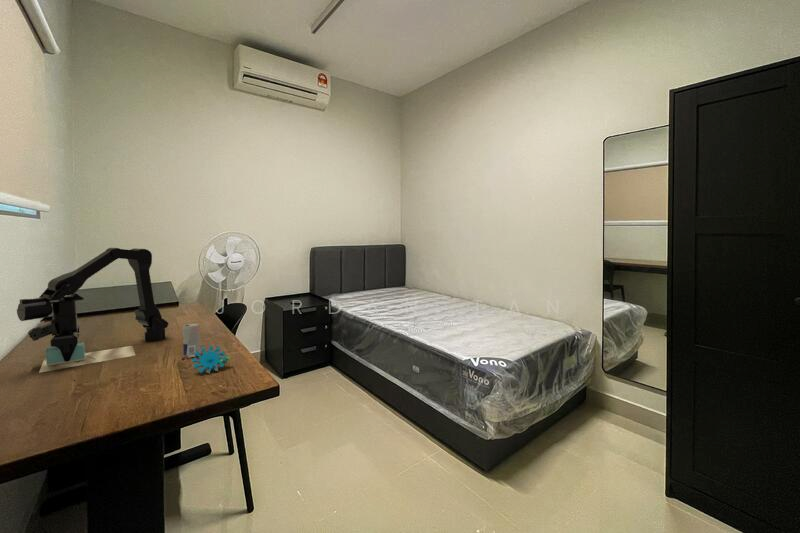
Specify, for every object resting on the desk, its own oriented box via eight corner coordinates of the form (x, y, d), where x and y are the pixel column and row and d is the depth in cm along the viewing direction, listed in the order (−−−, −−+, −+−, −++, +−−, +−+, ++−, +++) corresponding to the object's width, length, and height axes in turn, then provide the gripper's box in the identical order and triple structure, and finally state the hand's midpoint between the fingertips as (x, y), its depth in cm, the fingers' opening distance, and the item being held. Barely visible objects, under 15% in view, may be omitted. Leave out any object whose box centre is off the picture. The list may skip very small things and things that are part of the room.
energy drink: (188, 353, 127) (187, 323, 126) (203, 353, 127) (202, 323, 126) (180, 358, 121) (179, 326, 120) (195, 358, 122) (194, 326, 121)
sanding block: (84, 356, 118) (84, 342, 118) (84, 359, 115) (83, 345, 114) (48, 361, 112) (47, 347, 112) (46, 366, 109) (45, 351, 108)
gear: (190, 373, 105) (194, 344, 111) (189, 380, 109) (193, 353, 115) (229, 371, 110) (231, 344, 116) (227, 379, 114) (229, 352, 120)
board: (132, 348, 131) (132, 345, 131) (135, 358, 121) (135, 355, 121) (44, 363, 115) (43, 359, 115) (39, 376, 105) (38, 372, 105)
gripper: (33, 313, 114) (36, 356, 115) (24, 324, 100) (28, 373, 101) (78, 308, 121) (81, 350, 123) (76, 318, 108) (79, 364, 109)
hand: (67, 359), depth 114 cm, fingers closed on sanding block, 5 cm apart
